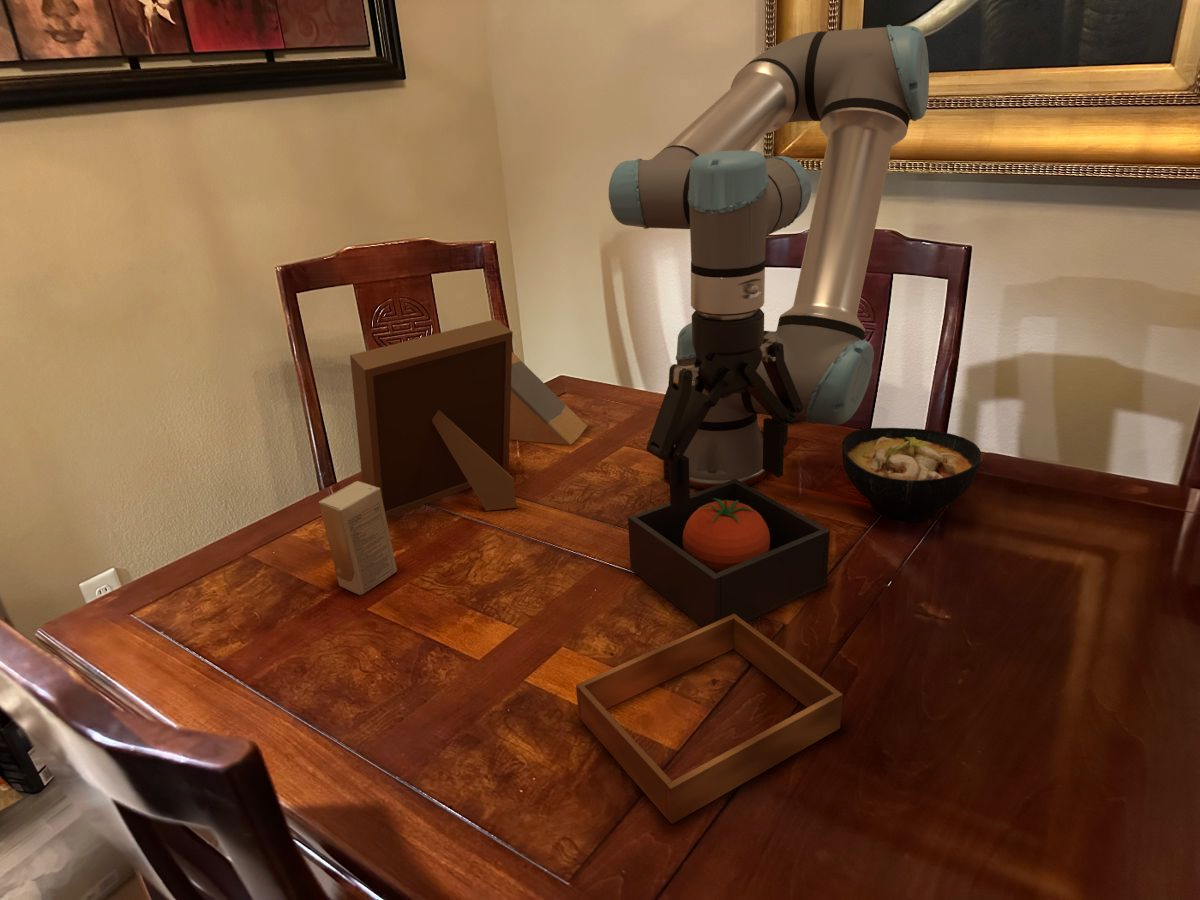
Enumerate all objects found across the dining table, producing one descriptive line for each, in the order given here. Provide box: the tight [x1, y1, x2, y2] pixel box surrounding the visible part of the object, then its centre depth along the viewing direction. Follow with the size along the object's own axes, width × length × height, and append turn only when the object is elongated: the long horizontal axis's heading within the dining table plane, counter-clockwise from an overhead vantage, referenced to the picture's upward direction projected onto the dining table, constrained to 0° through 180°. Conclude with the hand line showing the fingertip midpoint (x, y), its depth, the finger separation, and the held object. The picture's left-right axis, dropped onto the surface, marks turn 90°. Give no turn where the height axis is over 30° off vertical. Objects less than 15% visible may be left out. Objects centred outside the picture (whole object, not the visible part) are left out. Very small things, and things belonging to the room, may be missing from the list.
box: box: [575, 614, 844, 825], centre depth 78 cm, size 19×15×4 cm
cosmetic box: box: [318, 480, 398, 596], centre depth 103 cm, size 6×4×12 cm
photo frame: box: [349, 318, 517, 519], centre depth 117 cm, size 15×22×25 cm
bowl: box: [841, 427, 982, 523], centre depth 112 cm, size 17×17×10 cm
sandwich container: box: [510, 351, 588, 446], centre depth 142 cm, size 9×15×15 cm, turn 71°
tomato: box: [683, 499, 770, 573], centre depth 99 cm, size 10×10×10 cm
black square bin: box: [627, 479, 831, 628], centre depth 100 cm, size 17×17×8 cm
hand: (727, 489), depth 97 cm, fingers open, 13 cm apart
